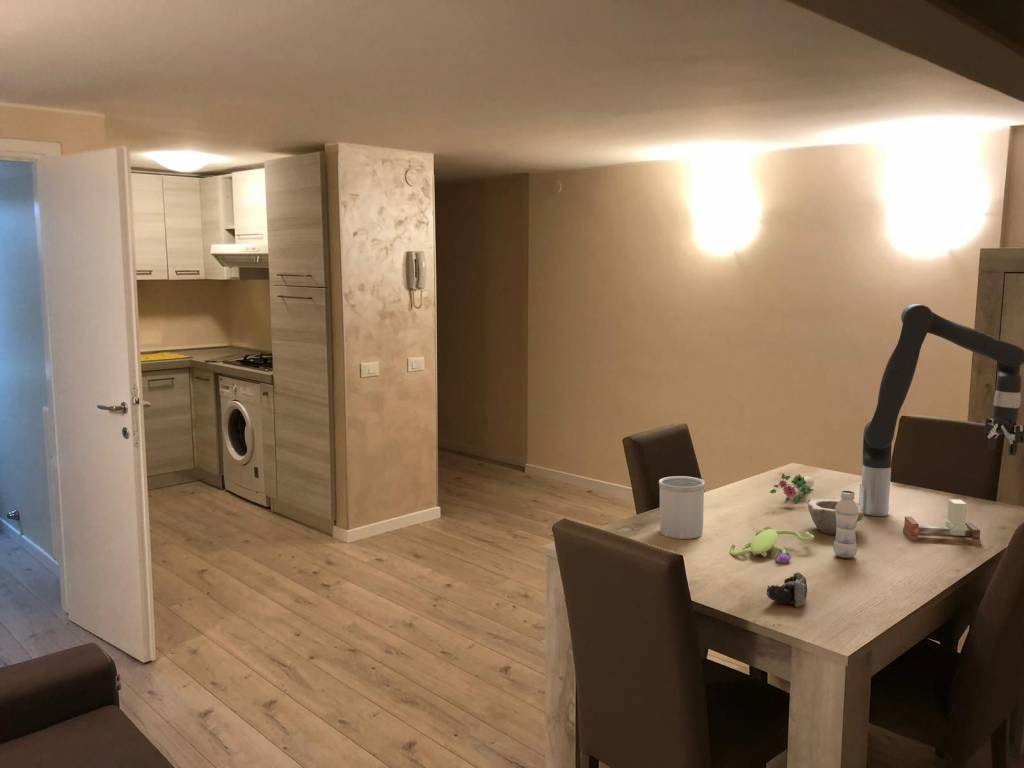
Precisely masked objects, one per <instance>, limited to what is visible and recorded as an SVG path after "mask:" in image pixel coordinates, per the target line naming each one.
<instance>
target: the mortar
mask: <svg viewBox="0 0 1024 768" xmlns="http://www.w3.org/2000/svg"><path fill="white" fill-rule="evenodd" d="M840 500H841V499H832V498H827V499H826V498H814V497H813V498H809V499H808V500H807V508H808V512H809V514H810V517H811V519H812V522H813V524H814V525H815V527H816V529H817V530H818V531H820V532H821V533H824V534H827V535H833V536H836V526H837V525H836V513H835V512H836V511H835V507H836V505H837V503H838V502H839V501H840ZM854 502H855V503H856V505H857V507H858V510H859V512H858V518H857V522H856V525H857V523H858V522H861V520H863V518H864V517H865V514H864V513H863V508H862V507H861V506H860V505H859V502H856V501H854Z"/></svg>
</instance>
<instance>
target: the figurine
mask: <svg viewBox="0 0 1024 768" xmlns="http://www.w3.org/2000/svg"><path fill="white" fill-rule="evenodd" d="M779 535H792V536H795V537H797V539H798V540H799V541H801V542H810V541H813V540H814V539H815V535H814V534H812V533H809V531H806V532H805V534H804V535H805V536H806V537H804V536H801V534H800V533H799V532H798V531H795V530H794V531H793V530H789V529H788V530H785V529H783V530H782V529H780V530H779V529H777V530H775V529H773V528H772V527H771V526H766V527H764V528H762V529H761V530H758V531H756V532H755V537H754V538H753V539H752V541H751V542H748V543H746V544H745V545H744V546H742V548H741V549H742V550H741V551H738V552H734V550H735V548H736V545H735V544H731V546H730V548H729V555H731V556H733V557H741V556H743V555H744V556H745V555H746V554H747V553H749V550H748V549H749V548H750V551H751V553H752V554H753V555H754V556H757V555H760V554H761V556H762V557H767V555H768V554H767V552H768V551H770V550H771V549H773V550H775V551H778V552H777V553H776V555H775V556H774V558H775V561H776V562H777V563H780V564H786V563H789V561H790V560H791V558H792V555H791V554H790V553H789V552H787V550H786V549H785V548H783V547H779V546H776V545H775V544H776V542H777V540H778V538H779V537H778V536H779Z"/></svg>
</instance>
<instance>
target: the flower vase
mask: <svg viewBox="0 0 1024 768" xmlns="http://www.w3.org/2000/svg"><path fill="white" fill-rule="evenodd" d="M790 478H791V475H786V474H784V473H782V475H781V480H779V481H778V484H775V485H773V487H774V488H773V489H771V490H770V491H769V493H770V494H775V493H776V492H777V491H778V489H782V491H783V494H785V496H786V497H785V500H784V502H785V503H787V502H789V501H790V500H791V499H793V500H794V501H795V502H796V503H798V502H799V498H798V495H797V493H798V492H797V491H796V490H798V491H800V492H799V497H800V498H802V499H803V498H804V492H805V493H806V494H811V493H812V492H811V491H810V489H811V488H812V487H813V486H815V485H814V483H815V480H814V479H813V478H812V477H811V476H807V475H806V476H802V475H801V474H800V473H799V474H797V475H795V476H794V478H793V479H791V480H790V483H791V484H789V483H788V482H787V481H788V480H789V479H790ZM775 488H777V489H775ZM803 490H804V491H803Z"/></svg>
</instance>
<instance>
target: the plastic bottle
mask: <svg viewBox="0 0 1024 768" xmlns="http://www.w3.org/2000/svg"><path fill="white" fill-rule="evenodd" d="M855 494H856V493H855V491H852V490H841V492H840V499H839V500H840V501H839V502H838V503H837V505H836V507H835V511H836V512H835V513H836V525H837V526H836V535H835V538H834V541H833V552H834V555H835V556H837V557H839V558H843V559H853V558H855V557H856V556H857V552H858V546H857V545H858V544H857V539H856V538H857V536H856V530H857V529H856V528H857V524H856V522H857V518H858V512H859V510H858V507H857V505H856V503H857V502H856V501H854V500H855V497H856V496H855ZM855 502H856V503H855ZM857 523H858V522H857Z"/></svg>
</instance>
